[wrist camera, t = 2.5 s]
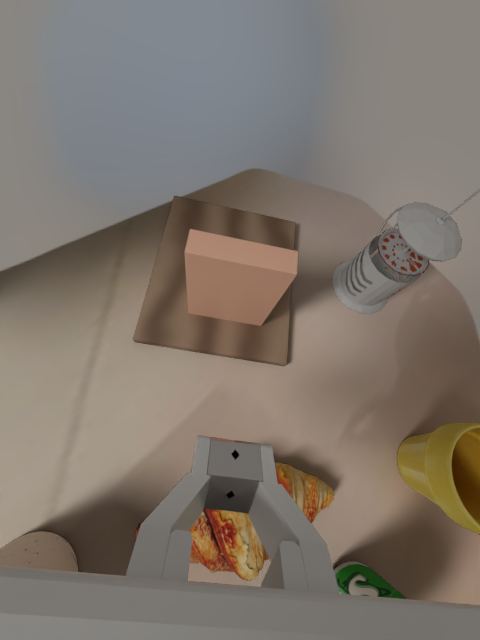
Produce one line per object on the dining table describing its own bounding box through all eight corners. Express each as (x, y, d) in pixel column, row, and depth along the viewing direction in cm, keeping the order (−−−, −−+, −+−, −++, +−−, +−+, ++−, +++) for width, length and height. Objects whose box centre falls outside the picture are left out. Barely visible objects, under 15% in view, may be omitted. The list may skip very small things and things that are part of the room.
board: (134, 342, 34) (132, 339, 33) (174, 201, 43) (174, 195, 42) (283, 366, 36) (286, 364, 35) (292, 227, 45) (295, 222, 44)
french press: (330, 306, 41) (507, 157, 18) (333, 245, 45) (479, 62, 22) (389, 320, 42) (632, 196, 19) (387, 259, 46) (581, 96, 23)
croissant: (308, 457, 36) (325, 429, 31) (345, 552, 29) (376, 537, 24) (144, 491, 31) (131, 466, 26) (139, 616, 24) (121, 615, 19)
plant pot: (400, 522, 32) (482, 562, 23) (371, 430, 35) (432, 434, 26) (469, 499, 34) (568, 528, 25) (435, 415, 37) (512, 413, 28)
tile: (188, 313, 35) (184, 252, 23) (191, 296, 36) (190, 228, 23) (260, 326, 36) (297, 274, 24) (262, 309, 37) (298, 250, 24)
